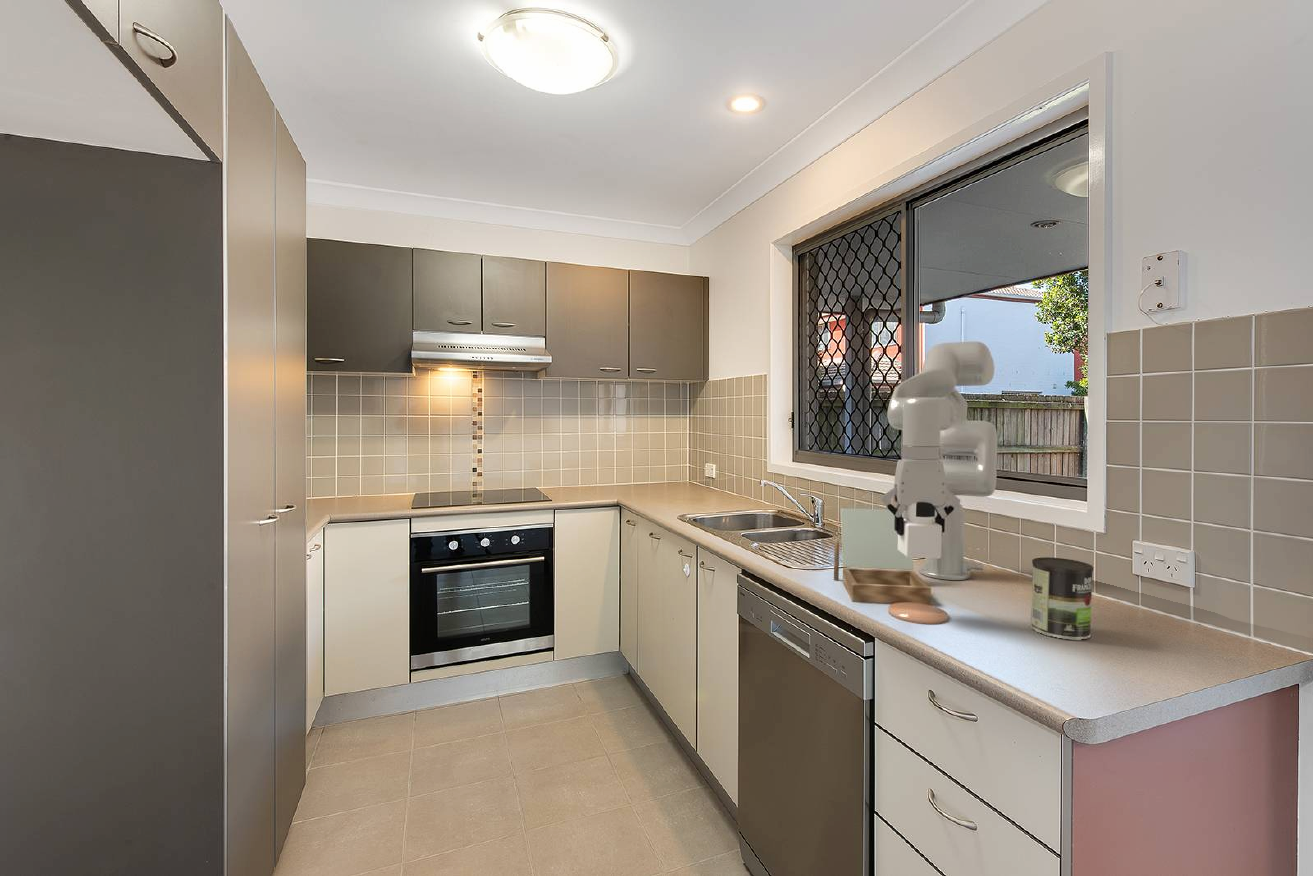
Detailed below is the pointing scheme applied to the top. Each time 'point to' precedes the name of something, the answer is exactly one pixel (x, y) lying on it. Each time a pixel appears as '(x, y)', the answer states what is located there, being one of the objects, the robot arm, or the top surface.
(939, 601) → the top surface
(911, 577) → the frame
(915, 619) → the saucer
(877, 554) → the lid
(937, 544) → the medicine bottle
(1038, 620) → the coffee can
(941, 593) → the top surface
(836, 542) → the prop stake
